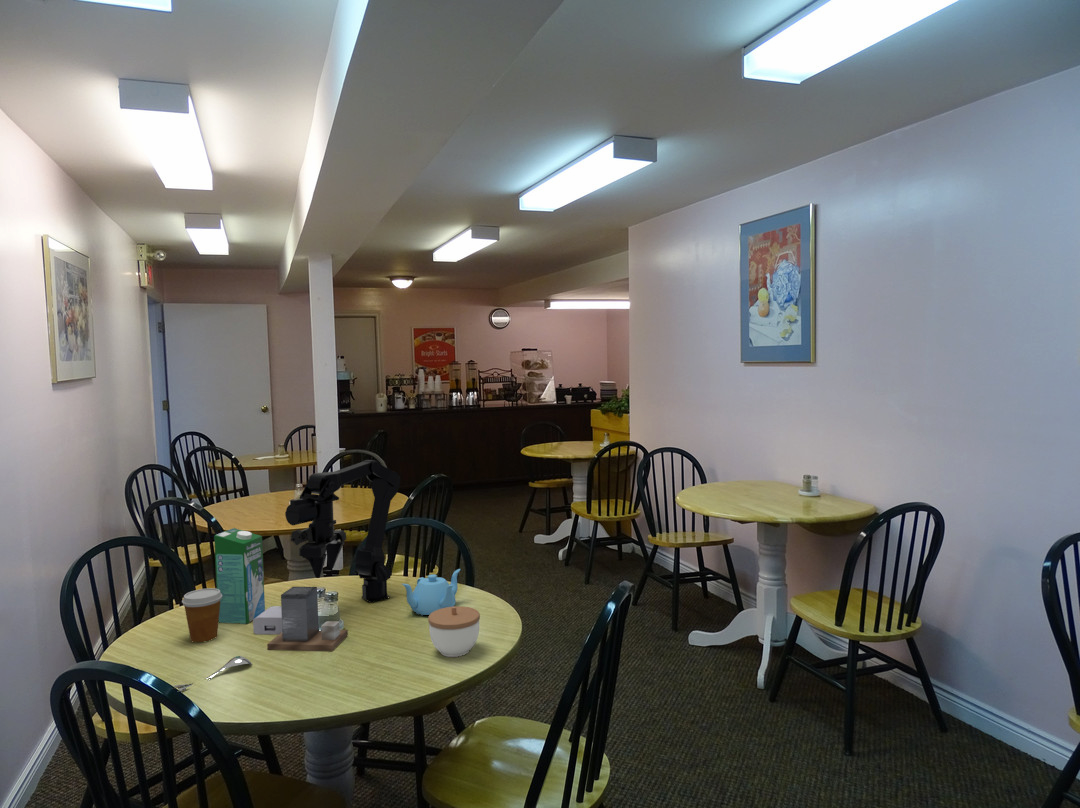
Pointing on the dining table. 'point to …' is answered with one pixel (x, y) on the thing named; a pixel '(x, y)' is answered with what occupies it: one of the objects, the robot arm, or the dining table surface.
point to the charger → (268, 621)
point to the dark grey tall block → (299, 614)
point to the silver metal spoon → (233, 662)
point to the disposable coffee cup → (202, 613)
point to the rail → (313, 639)
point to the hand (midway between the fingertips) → (324, 572)
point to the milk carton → (239, 575)
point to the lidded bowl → (454, 630)
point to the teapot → (432, 594)
